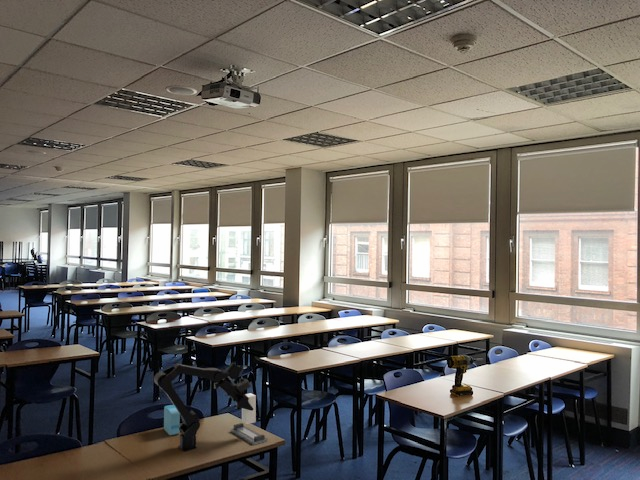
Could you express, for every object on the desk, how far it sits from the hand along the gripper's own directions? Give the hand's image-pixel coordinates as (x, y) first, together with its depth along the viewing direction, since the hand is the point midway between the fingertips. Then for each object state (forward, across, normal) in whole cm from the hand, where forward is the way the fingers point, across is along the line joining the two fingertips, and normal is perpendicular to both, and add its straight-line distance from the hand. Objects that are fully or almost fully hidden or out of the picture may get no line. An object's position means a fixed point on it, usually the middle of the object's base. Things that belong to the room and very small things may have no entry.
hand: (251, 407), depth 243 cm
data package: (-16, +19, +36) cm, 44 cm away
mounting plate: (+9, +1, +11) cm, 14 cm away
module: (+4, 0, +6) cm, 7 cm away
